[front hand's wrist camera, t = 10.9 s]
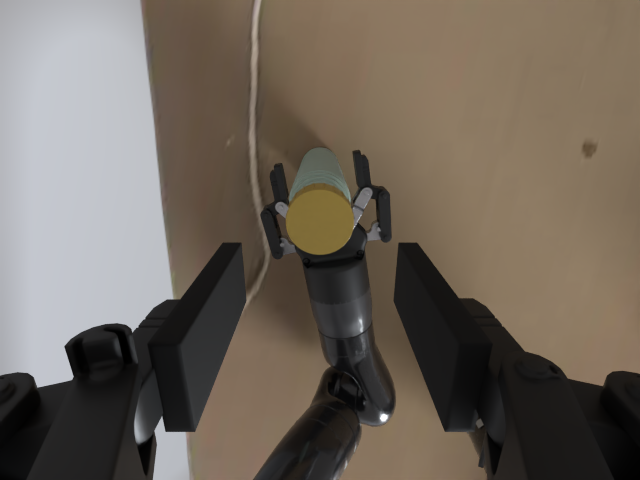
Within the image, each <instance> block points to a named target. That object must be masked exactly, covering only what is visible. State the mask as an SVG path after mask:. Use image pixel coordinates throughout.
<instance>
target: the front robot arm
mask: <svg viewBox="0 0 640 480" xmlns="http://www.w3.org/2000/svg"><path fill="white" fill-rule="evenodd" d="M245 303H246V291H245V279H244V267H243V256H242V244H241V243H222V245H221V246H220V247H219V249H218V250H217V251H216V253H215V254H214V255H213V257H212V258H211V259H210V261H209V262H208V263H207V265H206V266H205V267H204V269H203V270H202V271H201V273H200V274H199V275H198V277H197V278H196V279H195V281H194V282H193V283H192V285H191V286H190V287H189V289H188V290H187V291H186V293H185V294H184V295H183V297H182V298H181V299H180V300H166V301H164V302H162V303H161V304H159V305H158V306H156V307H154V308H153V310H152V311H151V312H150V313H149V314H148V315H147V316H146V319H145V320H143V321H142V322H141V323H140V325H139V327H138V328H136V329H135V330H134V332H133V333H132V330H131V328H129V327H128V326H127V325H123V324H118V323H116V324H105V325H101V326H97V327H93V328H91V329H88V330H86V331H83V332H81V333H80V334H78V335H76V336H75V337H73V338H72V339H71V340H70V341H69V342H68V343H67V344H66V345H65V350H66V353H67V356H68V359H69V363H70V366H71V369H72V372H73V376H74V377H73V380H71V381H67V382H63V383H58V384H53V385H48V386H44V387H39V388H37V385H36V383H35V380H34V377H33V376H31V375H30V374H28V373H19V372H17V373H12V374H5V375H1V376H0V480H153V472H154V464H155V455H156V447H157V443H156V437H155V432H154V430H155V428H156V426H157V424H158V422H159V420H160V419H161V417H163V422H164V426H165V431H166V432H195V431H196V428H197V425H198V423H199V420H200V418H201V415H202V413H203V410H204V408H205V405H206V403H207V400H208V397H209V395H210V392H211V390H212V387H213V385H214V382H215V380H216V377H217V374H218V372H219V369H220V367H221V364H222V362H223V359H224V357H225V354H226V352H227V349H228V346H229V344H230V341H231V339H232V336H233V334H234V331H235V329H236V326H237V323H238V321H239V318H240V316H241V313H242V311H243V308H244V306H245ZM394 303H395V306H396V308H397V311H398V313H399V316H400V318H401V321H402V323H403V326H404V329H405V331H406V334H407V336H408V339H409V341H410V344H411V346H412V349H413V352H414V354H415V357H416V359H417V362H418V364H419V367H420V369H421V372H422V374H423V377H424V380H425V382H426V385H427V387H428V390H429V392H430V395H431V397H432V400H433V403H434V405H435V408H436V410H437V413H438V415H439V418H440V420H441V423H442V425H443V428H444V431H445V432H474V431H475V426H476V422H477V417H478V415H479V417H480V419H481V421H482V423H483V424H484V426H485V428H486V432H485V437H484V441H483V445H482V450H481V454H480V459H479V465H478V466H479V467H482V468H483V466H484V462H485V463H486V471H487V480H640V374H638V373H633V372H627V371H615V372H612V373H610V374H609V375H607V377H606V380H605V383H604V385H603V386H599V385H594V384H590V383H585V382H580V381H575V380H571V379H568V378H567V377H566V375H565V374H564V373H563V371H562V370H561V369H560V368H559V367H558V366H557V365H555V364H554V363H553V362H551V361H549V360H547V359H545V358H543V357H541V356H539V355H536V354H532V353H529V352H525V351H524V350H523V349H522V348H521V346H520V345H519V344H518V343H517V342H516V341H515V339H514V338H513V337H512V336H511V335H510V334H509V332H508V331H507V330H506V329H505V328H504V327H502V324H501V323H500V322H499V321H498V320H497V318H495V316H494V315H493V314H492V313H491V311H490V310H489V309H488V308H487V307H486V306H484V305H483V304H481V303H480V302H478V301H476V300H475V299H473V298H458V297H457V295H456V294H455V293H454V291H453V290H452V289H451V287H450V286H449V285H448V283H447V282H446V281H445V279H444V278H443V277H442V275H441V274H440V273H439V271H438V270H437V269H436V267H435V266H434V265H433V263H432V262H431V261H430V259H429V258H428V257H427V255H426V254H425V253H424V251H423V250H422V249H421V247H420V246H419V245H418V243H399V244H398V256H397V267H396V279H395V291H394Z"/></svg>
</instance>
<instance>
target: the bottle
mask: <svg viewBox="0 0 640 480" xmlns="http://www.w3.org/2000/svg"><path fill="white" fill-rule="evenodd" d="M313 183H314V184H315V183H325V184H329V185H332V186H333V185H334V186H335V187H336V188H338V189H339V190H340V191H343V193H344V195H345V196H346V197H347V199H349V201H350V202H351V198H350V192H349V189H348V187H347V184H346V181H345V179H344V176H343V173H342V171H341V168H340V165H339V163H338V160H337V158H336V156H335V154H334V153H333V152H332V151H330V150H329V149H327V148H323V147H317V148H313V149H311V150H309V151H308V152H307V153H306V154H305V156H304V157H303V160H302V162H301V165H300V168H299V170H298V173H297V175H296V178H295V181H294V183H293V186H292V189H291V191H290V196H289V203H290V200H292V199H293V197H294V196H295V193H296V192H298V191H299V190H301V189H302V188H303V187H304V186H308V185H311V184H313Z"/></svg>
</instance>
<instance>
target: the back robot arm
mask: <svg viewBox="0 0 640 480" xmlns="http://www.w3.org/2000/svg"><path fill="white" fill-rule="evenodd" d="M353 160H354V167H355V175H356V182H357V185H358V187H359V188H358V190H357V192H356V193H355V195H354V197H353V199H351V202H350V204H351V208H352V210H353V213H354V227H353V232H352V234H351V236H350V238H349V240H348V241H347V242H346V244H345V245H344V246H343V247H341V248H340V249H338V250H337V251H335V252H332V253H329V254H324V255H316V254H311V253H308V252H305V251H303V250H301V249H300V248H298V247H297V246H296V245H295V244H294V243H293V242H291V241H289V239H288V237H287V236H284V235H281V231H280V228H279V224H278V221H277V217H276V215H277V214H279V213H280V214H281V215H282V216H283V217H284V218H285V216H286V213H287V210H288V206H289V200H288V199H287V198H288V195H289V194H288V189H287V184H286V179H285V174H284V169H283V165H282V163H278V164H275V165H274V170H272V171H271V173H270V180H271V185H272V189H273V194H274V199H275V201H274V202H273V203H271V204H269V205H266V206H265V207H264V209H263V211H262V212H261V219H262V223H263V226H264V229H265V232H266V236H267V239H268V242H269V246H270V249H271V252H272V256H273V257H274V258H275V259H280V258H282V256H283V255H285V254H289V253H294V252H297V253H298V254H299V256H300V257H301V259H302V264H303V268H304V273H305V278H306V283H307V288H308V293H309V297H310V302H311V307H312V311H313V315H314V318H315V321H316V323H317V327H318V331H319V336H320V341H321V346H322V351H323V355H324V357H325V359H326V361H327V363H328V364H329V365H330V367H329V368H327V369H326V370H325V372H324V373H323V375H322V377H321V380H320V383H319V386H318V389H317V391H316V394H315V396H314V398H313V401H312V403H311V405H310V407H309V408H308V409H307V410H306V411H305V413H304V414H303V415H302V416H301V417H300V418H299V419H298V420H297V422H296V423H295V424H294V425H293V426H292V427H291V429H290V430H289V431H288V432H287V433H286V435H285V436H284V437H283V439H282V440H281V441H280V442H279V444H278V445H277V446H276V448H275V449H274V450H273V452H272V453H271V455H270V456H269V457H268V459H267V460H266V462H265V463H264V465H263V466H262V467H261V469H260V470H259V472H258V473H257V475H256V476H255V477H254V479H253V480H339V479H340V477H341V476H342V474H343V472H344V470H345V468H346V467H347V465H348V463H349V461H350V459H351V458H352V456H353V454H354V452H355V451H356V449H357V447H358V445H359V442H360V439H361V434H362V428H361V424H364V425H368V426H374V427H378V426H382V425H384V424H386V423H387V422H388V421H389V420H390V418H391V417H392V415H393V413H394V410H395V406H396V393H395V387H394V383H393V380H392V378H391V375H390V373H389V371H388V369H387V367H386V365H385V363H384V361H383V359H382V357H381V354H380V352H379V350H378V348H377V346H376V343H375V337H374V330H373V323H372V300H371V293H370V286H369V278H368V271H367V263H366V256H365V245H366V242H367V241H370V240H380V239H381V240H382V241H383V242H389V241H390V240H391V213H390V194H389V192H388V191H387V190H386V189H385V188H384V187H383V186H374V185H372V184H371V180H370V172H369V163H368V159H367V158H366V156H365V155H361V152H360V150H355V151H353ZM370 198H371V199H376V214H377V220H375V221H373V222H372V224H371V228H370V229H369V230H368V231H365V229H364V228H363V227H362V226H361V225H360V224H359V223H358V221H359V219H360V217H361V215H362V214H363V211H364V208H365V206H366V205H367V203H368V201H369V199H370ZM285 219H286V218H285ZM485 432H486V428H485V426H484V424H483V423H482V421H481V419H480V417H479V415H478V417H477V422H476V426H475V431H474V432H467V433H468V434H469V436H470V438H471V441H472V443H473V445H474V447H475V449H476V452H477V454H478V456H479V458H480V454H481V450H482V445H483V441H484V437H485ZM483 467H484V469H485V471H486V463H485V462H484V466H483ZM486 473H487V471H486Z"/></svg>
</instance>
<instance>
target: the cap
mask: <svg viewBox="0 0 640 480" xmlns="http://www.w3.org/2000/svg"><path fill="white" fill-rule="evenodd" d="M285 218H286V229H287V233H288V235H289V237H290V239H291V240H292V242H293V243H294V244H295V245H296V246H297V247H298V248H300V249H301V250H303V251H305V252H308V253H311V254H316V255H324V254H329V253H332V252H335V251H337V250H338V249H340V248H341V247H343V246H344V245H345V244H346V242H347V241H348V240H349V238H350V236H351V234H352V232H353V227H354V213H353V210H352V208H351V204H350V201H349V199H347V197H346V196H345V195H344V193H343V191H340V190H339V189H338V188H336V187H335V186H334V185H333V186H332V185H329V184H325V183H315V184H314V183H313V184H311V185H308V186H304V187H303V188H302V189H301V190H299V191H298V192H296V193H295V196H294V197H293V199H292V200H290V203H289V206H288V210H287V213H286V216H285Z"/></svg>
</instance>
